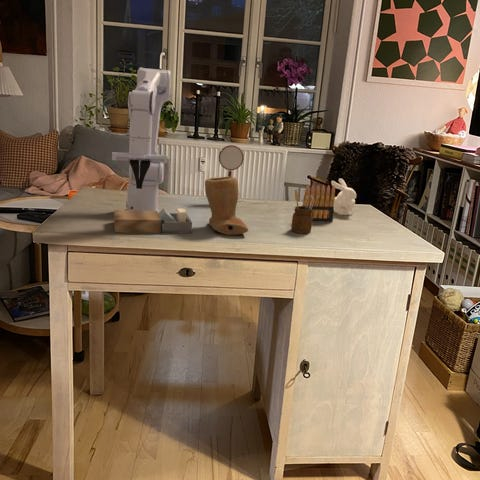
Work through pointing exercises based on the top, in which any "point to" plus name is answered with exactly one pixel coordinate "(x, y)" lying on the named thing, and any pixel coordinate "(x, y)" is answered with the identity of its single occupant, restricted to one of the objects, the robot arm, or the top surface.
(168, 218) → the tile slate
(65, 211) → the top surface
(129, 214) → the walnut plate
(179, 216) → the tile cream
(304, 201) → the ammunition clip
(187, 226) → the bin
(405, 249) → the top surface
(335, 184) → the rabbit
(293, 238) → the top surface
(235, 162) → the magnifying glass
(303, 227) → the utensil holder
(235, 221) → the tan suede boot
